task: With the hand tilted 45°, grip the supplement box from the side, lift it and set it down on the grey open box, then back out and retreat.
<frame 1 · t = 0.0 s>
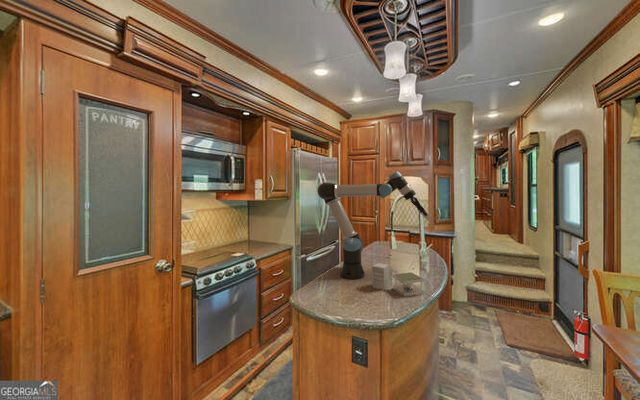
hand: (428, 218, 174), 36 cm above the countertop, tool tilted 35°, fingers open, 13 cm apart
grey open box: (408, 291, 146), on the countertop
supplement box: (380, 287, 153), on the countertop
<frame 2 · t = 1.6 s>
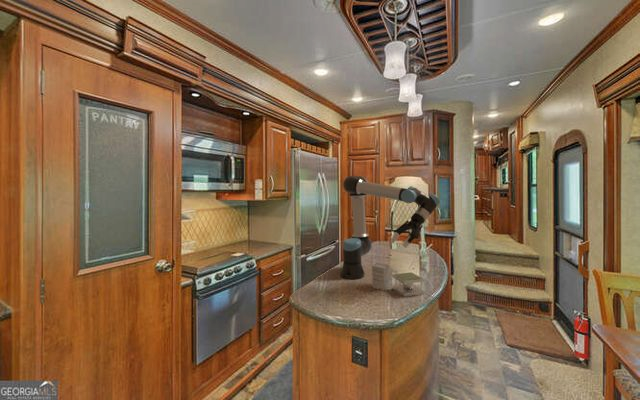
hand: (397, 244, 155), 24 cm above the countertop, tool tilted 45°, fingers open, 13 cm apart
nothing on the countertop moved.
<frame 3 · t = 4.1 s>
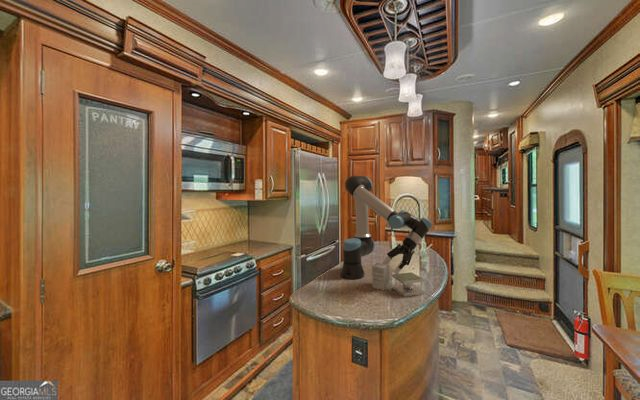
hand: (388, 269, 153), 10 cm above the countertop, tool tilted 45°, fingers open, 13 cm apart
nothing on the countertop moved.
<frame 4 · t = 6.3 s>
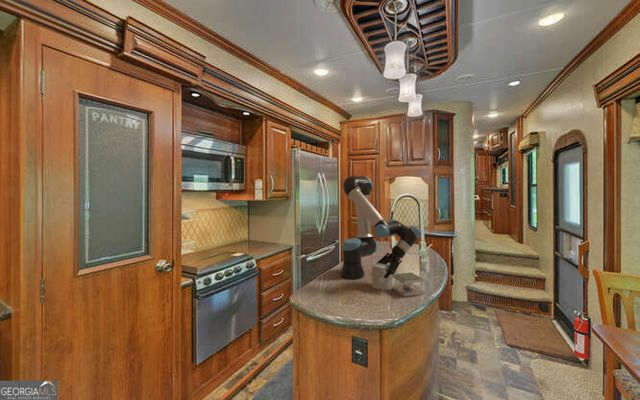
hand: (375, 278, 153), 5 cm above the countertop, tool tilted 45°, fingers closed on supplement box, 10 cm apart
supplement box: (380, 287, 153), on the countertop, touching gripper
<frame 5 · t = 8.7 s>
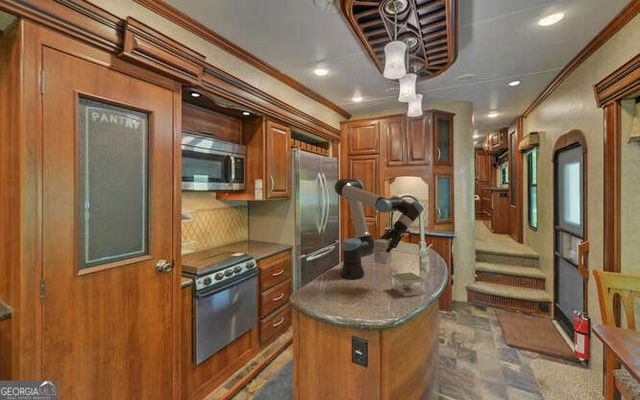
hand: (377, 254, 151), 19 cm above the countertop, tool tilted 45°, fingers closed on supplement box, 10 cm apart
supplement box: (382, 262, 152), point 14 cm above the countertop, touching gripper
when the fingers open (15 cm above the countertop, at t = 11.1 s): supplement box drops 1 cm, resting on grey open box.
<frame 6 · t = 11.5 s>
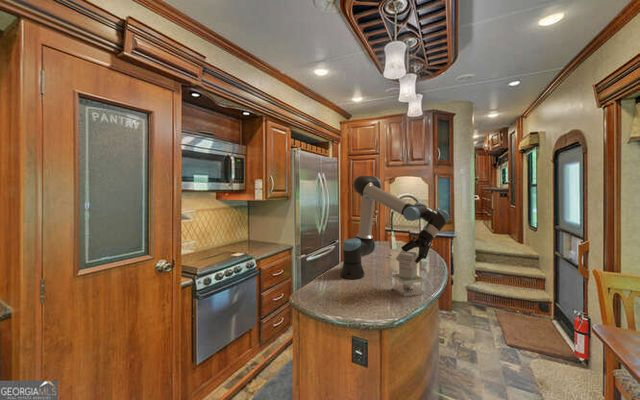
hand: (403, 263, 145), 15 cm above the countertop, tool tilted 45°, fingers open, 13 cm apart
supplement box: (408, 276, 146), point 8 cm above the countertop, touching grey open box
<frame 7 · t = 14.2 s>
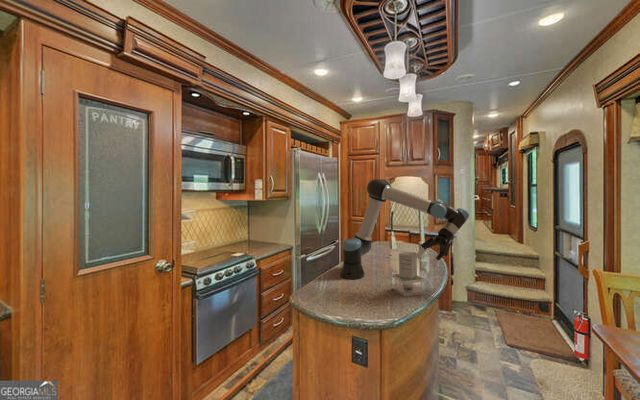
hand: (424, 260, 149), 16 cm above the countertop, tool tilted 45°, fingers open, 13 cm apart
nothing on the countertop moved.
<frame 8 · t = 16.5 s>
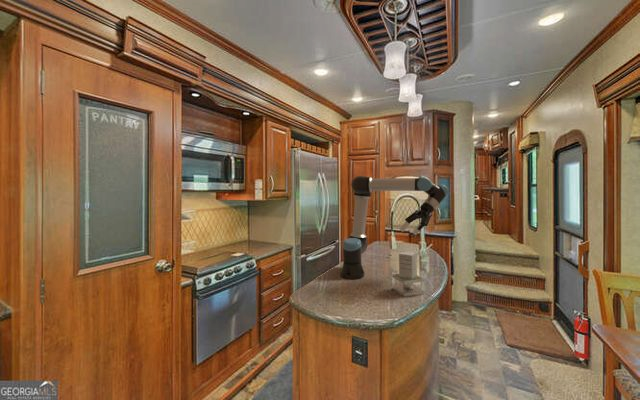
hand: (407, 232, 161), 30 cm above the countertop, tool tilted 45°, fingers open, 13 cm apart
nothing on the countertop moved.
at the end: supplement box inside the target area on the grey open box (0.1 cm from its centre), point 8.1 cm above the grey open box's base; supplement box tilted 0°; the gripper is holding nothing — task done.
